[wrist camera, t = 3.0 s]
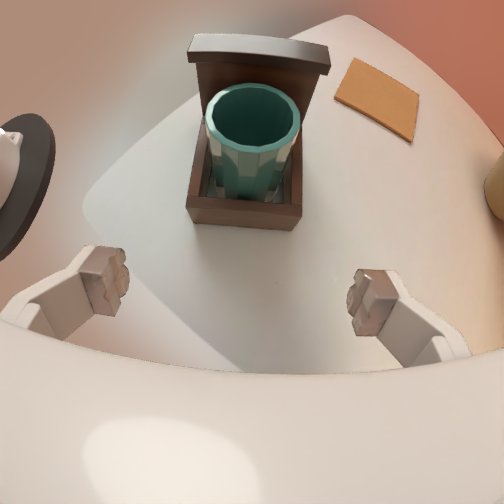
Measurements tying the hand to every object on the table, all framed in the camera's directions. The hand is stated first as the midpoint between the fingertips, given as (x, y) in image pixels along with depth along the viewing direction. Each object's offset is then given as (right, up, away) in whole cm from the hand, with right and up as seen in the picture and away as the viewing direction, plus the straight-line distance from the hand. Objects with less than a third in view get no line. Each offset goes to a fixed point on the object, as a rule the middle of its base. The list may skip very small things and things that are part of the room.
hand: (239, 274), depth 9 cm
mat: (+19, +23, +23) cm, 38 cm away
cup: (0, +8, +18) cm, 20 cm away
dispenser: (0, +9, +19) cm, 21 cm away
